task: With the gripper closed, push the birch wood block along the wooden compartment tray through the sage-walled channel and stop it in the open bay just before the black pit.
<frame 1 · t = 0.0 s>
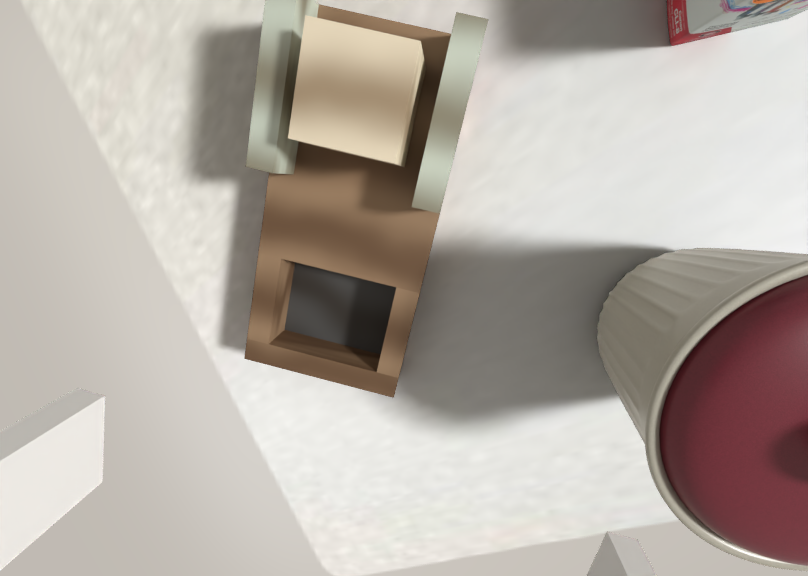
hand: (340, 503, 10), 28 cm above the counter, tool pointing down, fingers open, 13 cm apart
birch block: (369, 108, 31), point 4 cm above the counter, touching wooden compartment tray
canister: (667, 319, 36), on the counter
wooden compartment tray: (358, 215, 37), on the counter
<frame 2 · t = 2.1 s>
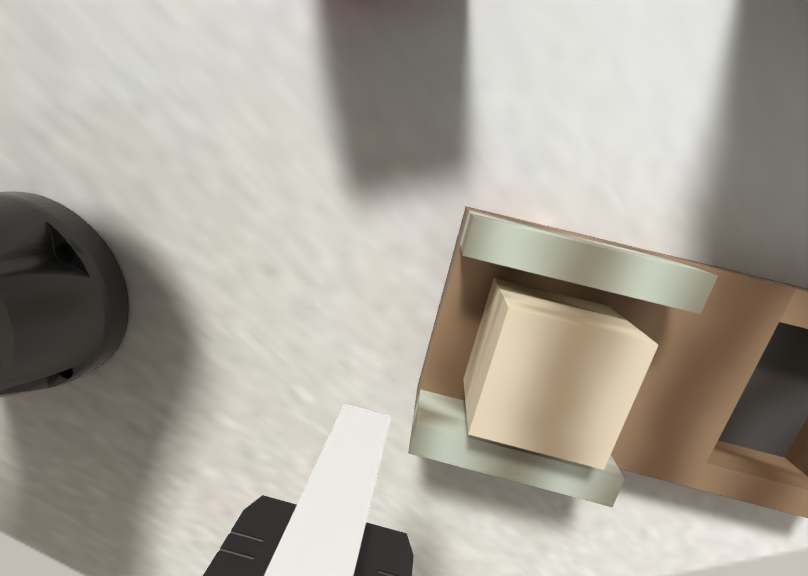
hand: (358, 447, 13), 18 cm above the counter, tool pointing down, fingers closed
birch block: (532, 344, 25), point 4 cm above the counter, touching wooden compartment tray
wooden compartment tray: (638, 351, 29), on the counter
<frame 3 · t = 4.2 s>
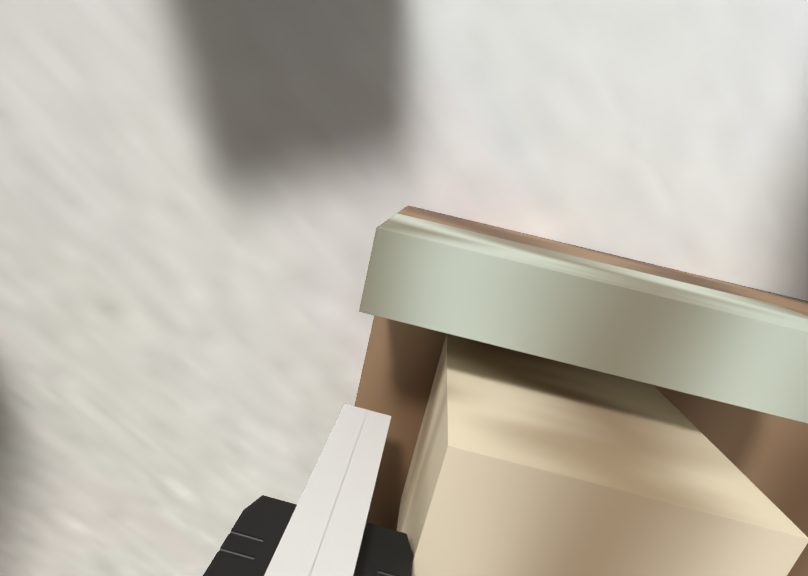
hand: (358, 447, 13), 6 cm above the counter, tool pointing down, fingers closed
birch block: (517, 446, 15), point 4 cm above the counter, touching gripper, wooden compartment tray
wooden compartment tray: (689, 438, 18), on the counter
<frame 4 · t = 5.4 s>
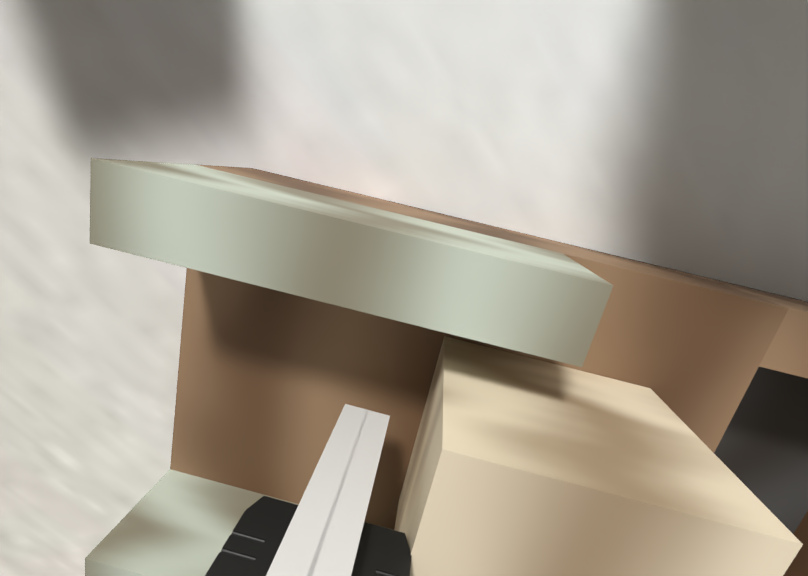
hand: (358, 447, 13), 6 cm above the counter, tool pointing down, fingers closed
birch block: (515, 448, 15), point 4 cm above the counter, touching gripper
wooden compartment tray: (541, 400, 18), on the counter
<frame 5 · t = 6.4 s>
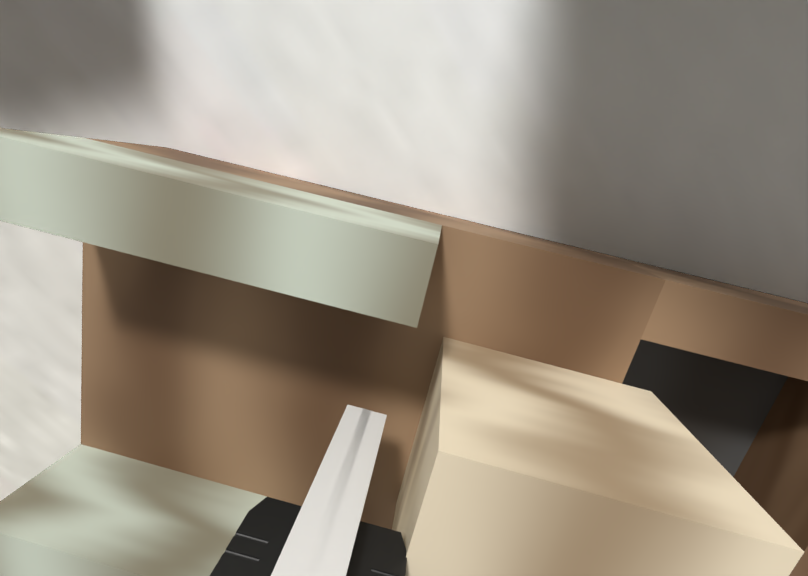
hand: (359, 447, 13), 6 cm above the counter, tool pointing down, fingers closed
birch block: (514, 451, 14), point 4 cm above the counter, touching gripper, wooden compartment tray
wooden compartment tray: (459, 381, 18), on the counter
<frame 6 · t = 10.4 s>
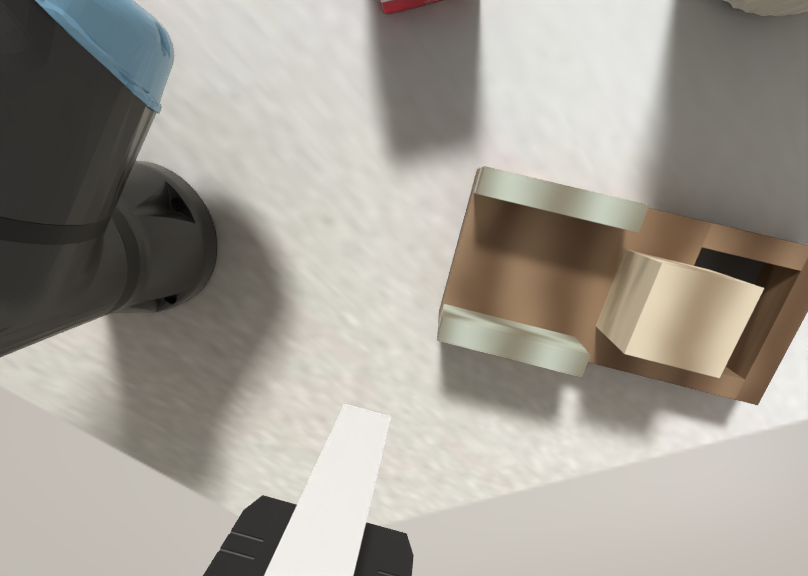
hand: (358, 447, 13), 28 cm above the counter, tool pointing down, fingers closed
birch block: (650, 298, 35), point 4 cm above the counter, touching wooden compartment tray
wooden compartment tray: (606, 280, 38), on the counter
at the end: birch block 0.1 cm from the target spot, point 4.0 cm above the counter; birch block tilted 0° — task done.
